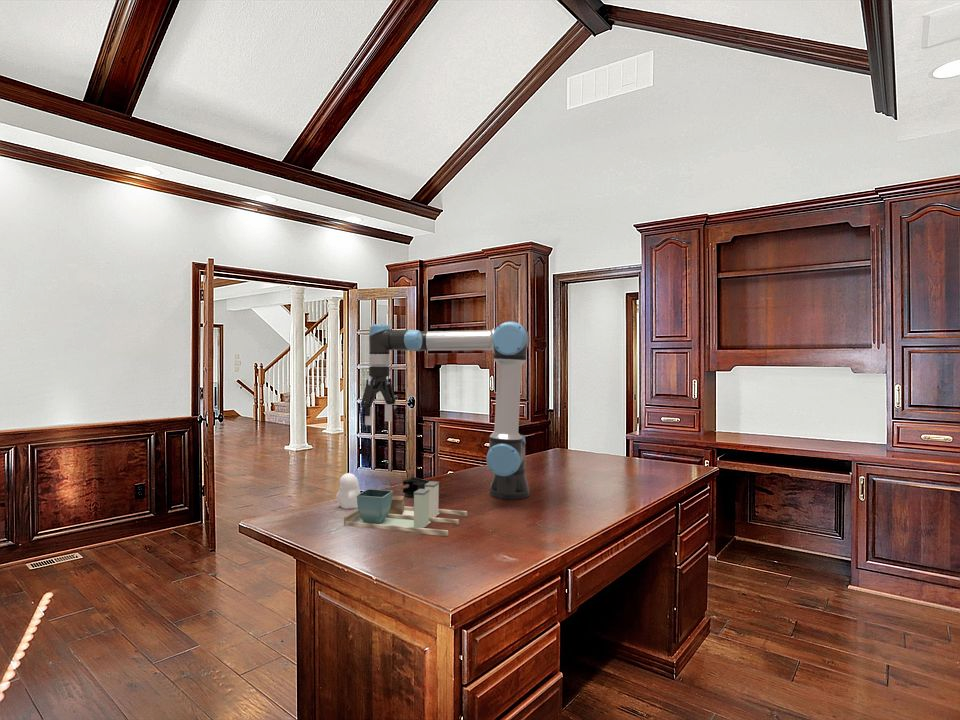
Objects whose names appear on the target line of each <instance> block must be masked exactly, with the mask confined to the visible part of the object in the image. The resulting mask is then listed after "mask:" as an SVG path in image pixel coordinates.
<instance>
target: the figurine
mask: <svg viewBox="0 0 960 720" xmlns="http://www.w3.org/2000/svg"><path fill="white" fill-rule="evenodd" d="M338 484H339V490H338V491H337V493H336V500H337V502H338V504H339V505H340V507H341V508H342V509H346V510H350V509H352V510H353V509H358V504H357V495H358V494H360V493H361V489H360V484H359V480H358V478H357V476H356V475H354V474H353V473H351V472H346V473H344V474H343V475H341V476H340V477H339V483H338Z"/></svg>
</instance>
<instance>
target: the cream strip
mask: <svg viewBox="0 0 960 720" xmlns="http://www.w3.org/2000/svg"><path fill="white" fill-rule="evenodd" d="M429 481H430V480H429ZM439 485H440V481H432V480H431V481H430V482H428V483H426V484H425V489H429V517H434V518H437V516H438V515H440V514H441V513H438V509H439V500H440V499H439V496H440V495H439V494H440V492H439V490H440V486H439ZM402 515H411V516H414V511H410V510H404V512H403V514H402Z"/></svg>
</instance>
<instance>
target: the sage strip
mask: <svg viewBox="0 0 960 720" xmlns="http://www.w3.org/2000/svg"><path fill="white" fill-rule="evenodd" d="M413 507H414V520H410V519H398V518H387V517H386V518H385V520H383V521H382V522H381V523H380V524H382V525H394V526H405V527H416V528H425V527H428V525H429V524H430V523H431V521H429V489H418V490H417V491H415V492H414V498H413ZM356 522H360V523H364V521H363V520H362V518H361V519H359V520H357V521H356ZM371 524H375V523H371Z"/></svg>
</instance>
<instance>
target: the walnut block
mask: <svg viewBox="0 0 960 720" xmlns="http://www.w3.org/2000/svg"><path fill="white" fill-rule="evenodd" d="M404 506H405V497H404V496H403V495H392V502H391V507H390V511H389V513H388V514H399V515H402V514H403V512H404Z"/></svg>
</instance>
